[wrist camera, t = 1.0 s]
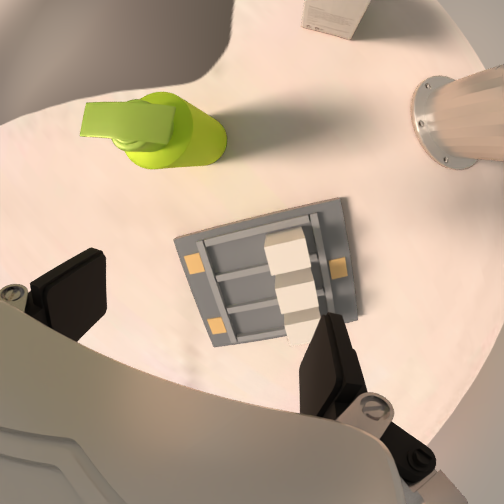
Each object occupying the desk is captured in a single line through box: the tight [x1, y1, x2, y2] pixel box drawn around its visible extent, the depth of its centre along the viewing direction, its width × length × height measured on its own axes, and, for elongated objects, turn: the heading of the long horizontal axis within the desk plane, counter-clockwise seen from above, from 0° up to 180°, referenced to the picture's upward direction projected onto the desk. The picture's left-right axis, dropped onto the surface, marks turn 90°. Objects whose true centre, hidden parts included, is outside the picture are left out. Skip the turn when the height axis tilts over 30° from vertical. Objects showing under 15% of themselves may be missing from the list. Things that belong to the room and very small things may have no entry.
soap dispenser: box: [80, 92, 227, 169], centre depth 20 cm, size 6×7×20 cm
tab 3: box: [284, 307, 321, 347], centre depth 31 cm, size 4×3×5 cm
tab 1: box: [264, 226, 311, 276], centre depth 29 cm, size 4×3×5 cm
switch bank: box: [174, 198, 358, 347], centre depth 33 cm, size 20×16×2 cm
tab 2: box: [275, 267, 319, 314], centre depth 30 cm, size 4×3×5 cm
